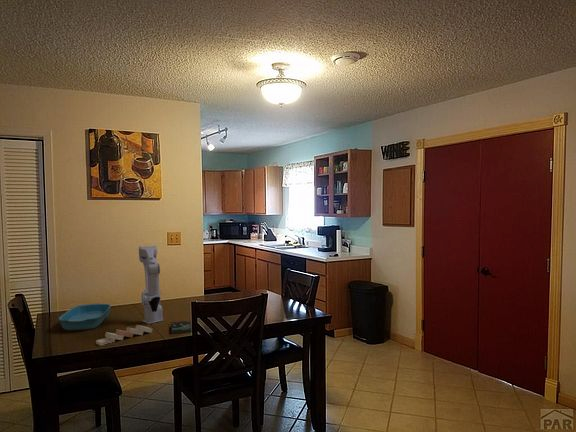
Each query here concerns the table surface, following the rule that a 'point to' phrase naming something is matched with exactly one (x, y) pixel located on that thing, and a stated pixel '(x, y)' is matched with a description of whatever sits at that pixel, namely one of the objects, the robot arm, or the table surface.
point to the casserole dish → (84, 316)
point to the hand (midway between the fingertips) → (154, 311)
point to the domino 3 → (124, 333)
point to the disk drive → (180, 327)
